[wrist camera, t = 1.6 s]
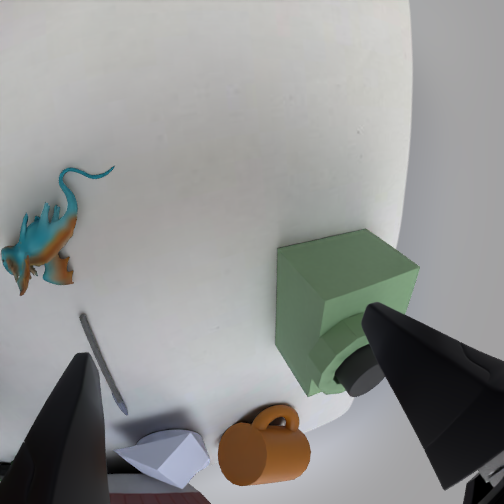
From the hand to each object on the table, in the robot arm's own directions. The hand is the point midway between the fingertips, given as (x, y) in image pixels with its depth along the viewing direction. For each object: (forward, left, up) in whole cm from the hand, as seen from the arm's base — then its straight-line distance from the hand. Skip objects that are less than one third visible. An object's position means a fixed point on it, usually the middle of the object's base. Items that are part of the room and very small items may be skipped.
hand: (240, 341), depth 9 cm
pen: (-15, -8, -13) cm, 21 cm away
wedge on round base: (-21, -22, -13) cm, 33 cm away
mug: (-13, -26, -9) cm, 31 cm away
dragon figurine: (-7, +4, -13) cm, 15 cm away
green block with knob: (+5, -15, -13) cm, 20 cm away
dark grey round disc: (+3, -14, -4) cm, 15 cm away
